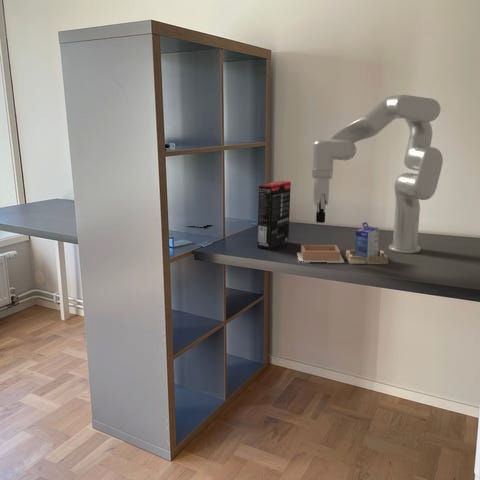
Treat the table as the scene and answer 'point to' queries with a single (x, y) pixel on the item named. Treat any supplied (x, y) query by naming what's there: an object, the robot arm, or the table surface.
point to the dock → (320, 254)
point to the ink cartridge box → (367, 242)
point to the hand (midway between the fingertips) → (320, 222)
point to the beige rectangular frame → (353, 259)
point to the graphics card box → (273, 214)
